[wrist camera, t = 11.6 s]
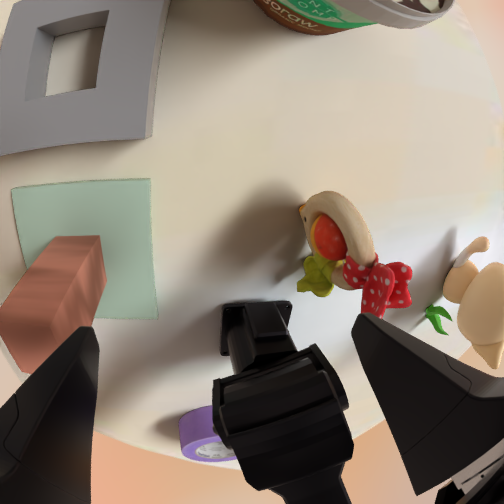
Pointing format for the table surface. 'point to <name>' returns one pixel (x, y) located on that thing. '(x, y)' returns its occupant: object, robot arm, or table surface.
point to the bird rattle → (348, 256)
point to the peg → (53, 299)
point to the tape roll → (202, 437)
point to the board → (97, 223)
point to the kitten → (476, 303)
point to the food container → (352, 13)
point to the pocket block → (88, 100)
